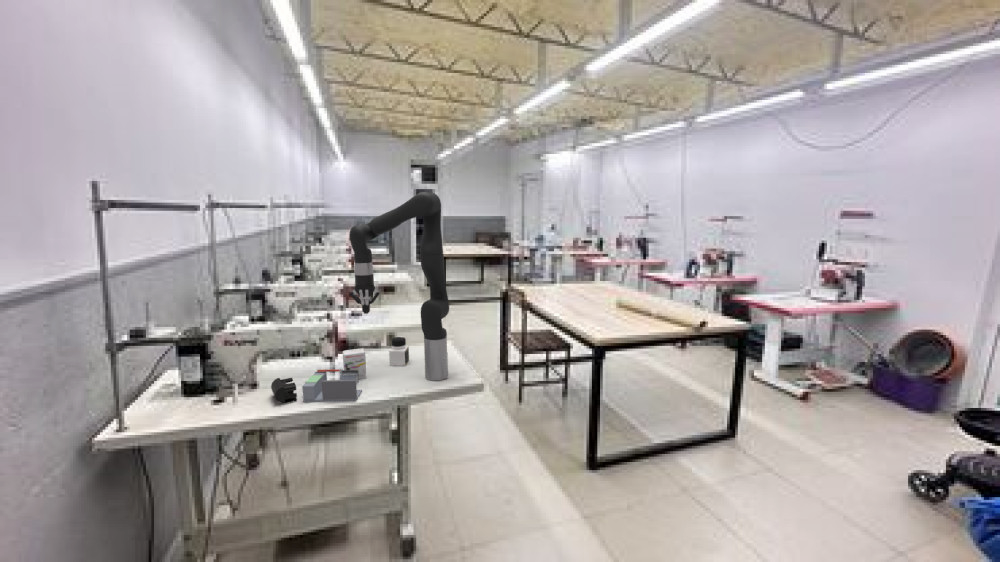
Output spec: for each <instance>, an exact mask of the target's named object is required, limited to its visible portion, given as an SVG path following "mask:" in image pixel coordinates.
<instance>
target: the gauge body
mask: <svg viewBox="0 0 1000 562" xmlns="http://www.w3.org/2000/svg"><path fill="white" fill-rule="evenodd" d="M327 374H328V373H327V372H317V371H315V372H314V373H313V374H312V375H311V376H310V377H309V378H308V379H307V380H306V381H305V382H304V384H302V386H301V387H302V388H301V389H302V399H303V403H321V402H322V403H324V402H325V403H326V402H327V403H328V402H329V403H330V402H332V403H333V402H357V401H358V400H359V398H360V396H361V395H362V393H363V389H357V385H356V380H340V379H328V377H327V376H328V375H327ZM358 397H359V398H358ZM356 400H357V401H356Z"/></svg>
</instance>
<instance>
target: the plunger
mask: <svg viewBox="0 0 1000 562" xmlns="http://www.w3.org/2000/svg"><path fill="white" fill-rule="evenodd" d="M316 372H326V373H327V372H328V373H329V372H330V373H331V372H334V373H335V372H336V373H337V372H338V373H339V377H340V378H339V380H356V386H357V385H358V384H359V382H360V380H359V375H358V370H344V368H340V369H317V370H316Z"/></svg>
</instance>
